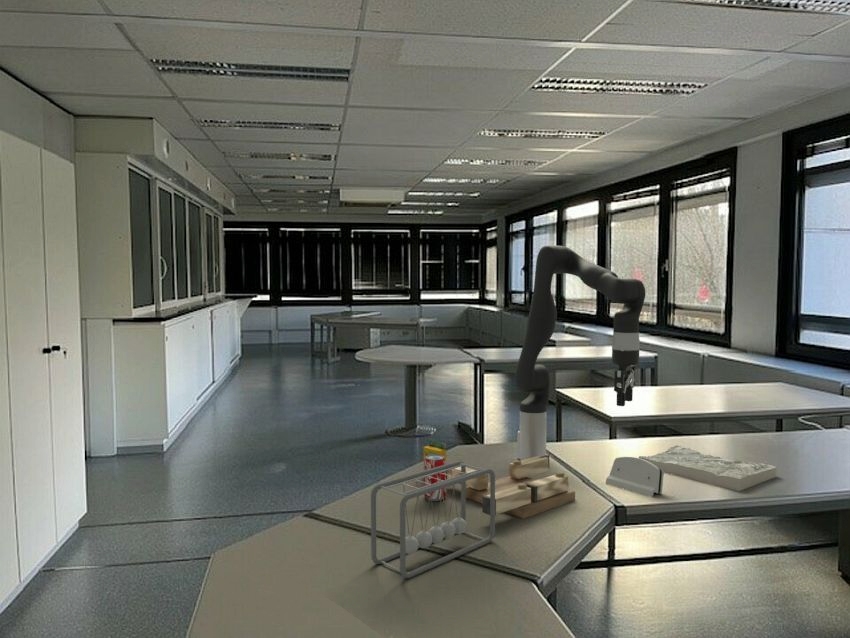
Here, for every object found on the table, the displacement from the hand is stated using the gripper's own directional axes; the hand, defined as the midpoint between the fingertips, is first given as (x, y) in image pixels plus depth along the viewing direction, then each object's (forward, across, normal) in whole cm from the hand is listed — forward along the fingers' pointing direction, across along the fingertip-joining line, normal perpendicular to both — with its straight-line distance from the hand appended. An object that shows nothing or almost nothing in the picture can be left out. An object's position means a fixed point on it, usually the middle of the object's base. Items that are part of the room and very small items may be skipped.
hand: (624, 403), depth 182 cm
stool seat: (+27, +18, -28) cm, 43 cm away
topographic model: (+27, -37, +17) cm, 49 cm away
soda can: (+27, +32, -45) cm, 61 cm away
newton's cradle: (+27, +64, -26) cm, 74 cm away
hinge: (+27, -7, +2) cm, 28 cm away
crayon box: (+27, +17, -54) cm, 63 cm away
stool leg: (+24, +21, -16) cm, 35 cm away
